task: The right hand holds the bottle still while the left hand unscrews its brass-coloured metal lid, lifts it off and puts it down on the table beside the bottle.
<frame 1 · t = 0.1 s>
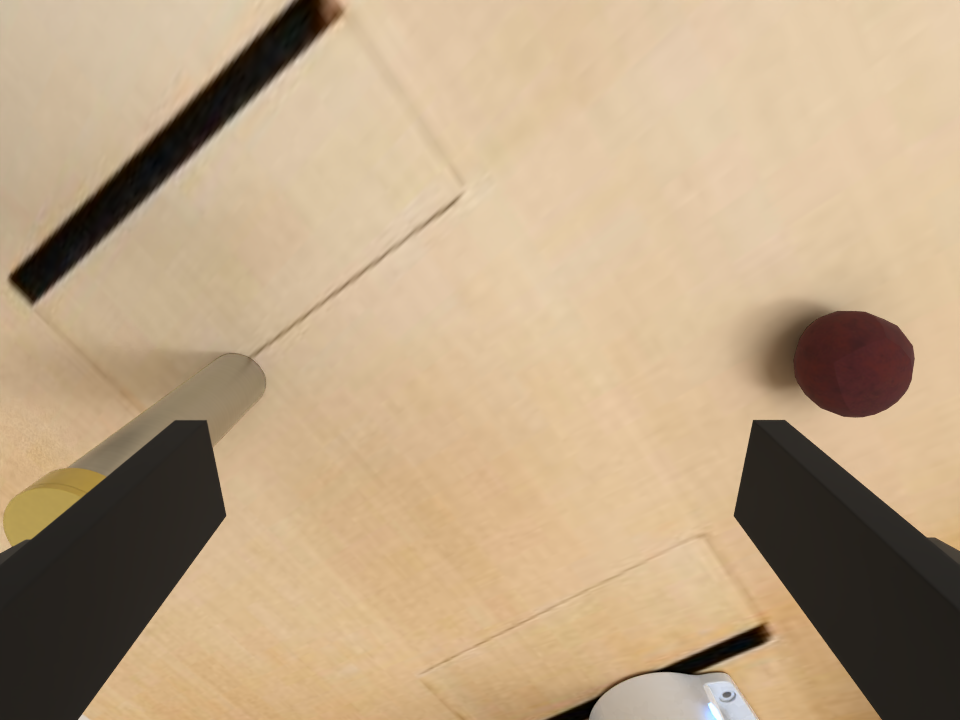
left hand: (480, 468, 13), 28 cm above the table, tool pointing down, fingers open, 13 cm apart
bottle: (237, 379, 42), on the table
lid: (66, 530, 25), point 19 cm above the table, screwed on, not yet turned
dark red plum: (820, 345, 41), on the table
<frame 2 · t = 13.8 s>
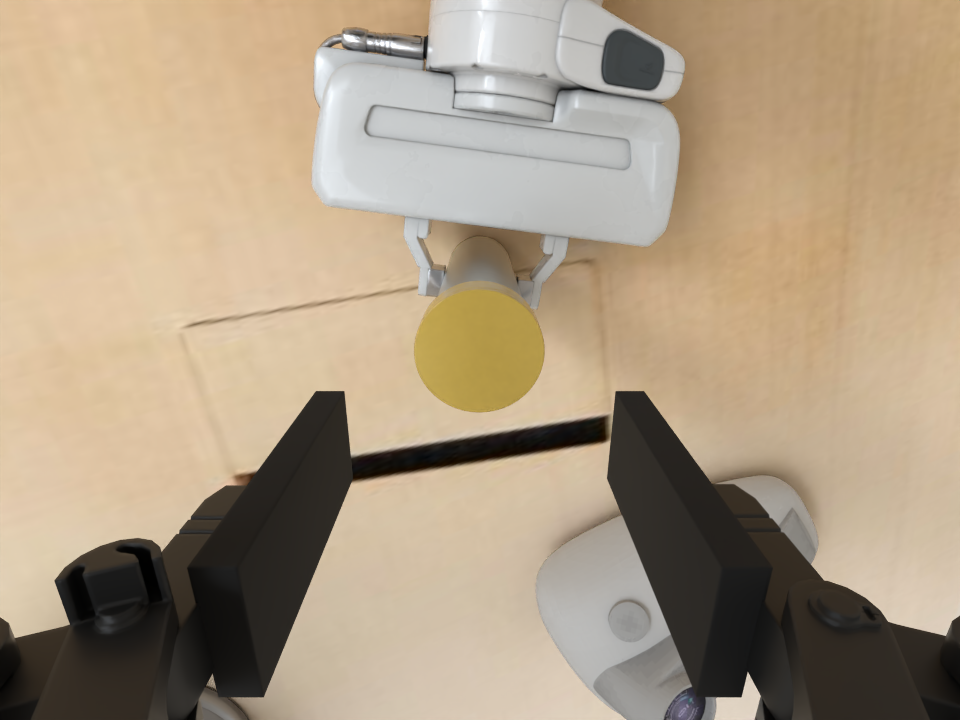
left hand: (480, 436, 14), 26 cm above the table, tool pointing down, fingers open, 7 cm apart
right hand: (478, 300, 33), fingers closed on bottle, 4 cm apart
bottle: (479, 267, 38), on the table, touching right hand
projector: (667, 549, 47), on the table
lid: (479, 350, 21), point 19 cm above the table, screwed on, not yet turned
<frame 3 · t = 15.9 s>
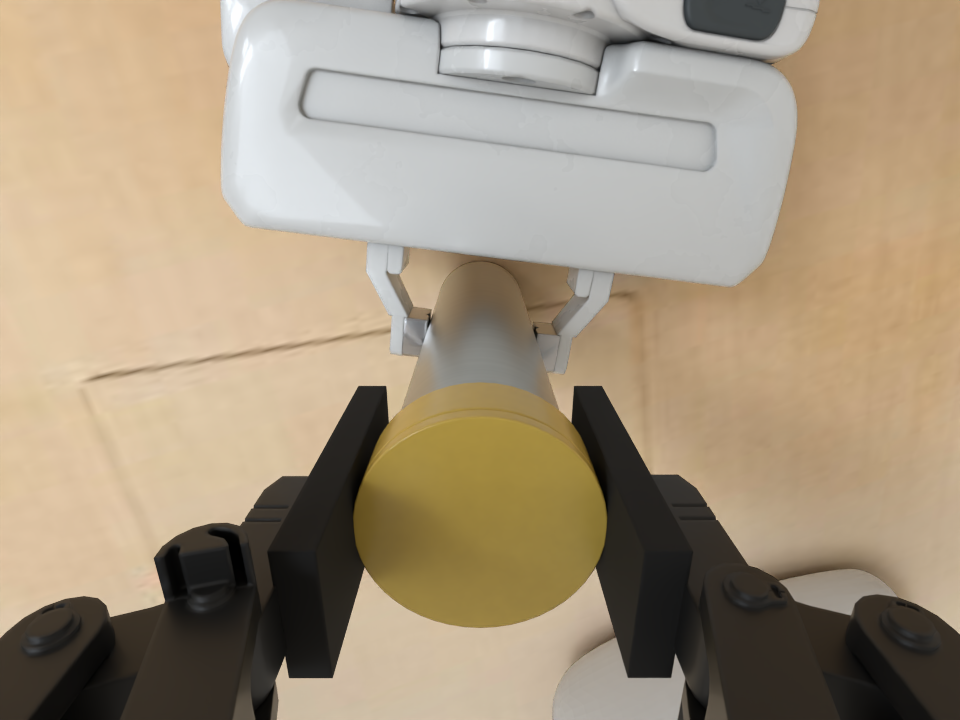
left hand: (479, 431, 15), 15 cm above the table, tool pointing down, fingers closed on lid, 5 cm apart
right hand: (478, 360, 22), fingers closed on bottle, 4 cm apart
bottle: (480, 302, 28), on the table, touching right hand
projector: (717, 652, 37), on the table
lid: (480, 520, 11), point 19 cm above the table, screwed on, not yet turned, touching left hand
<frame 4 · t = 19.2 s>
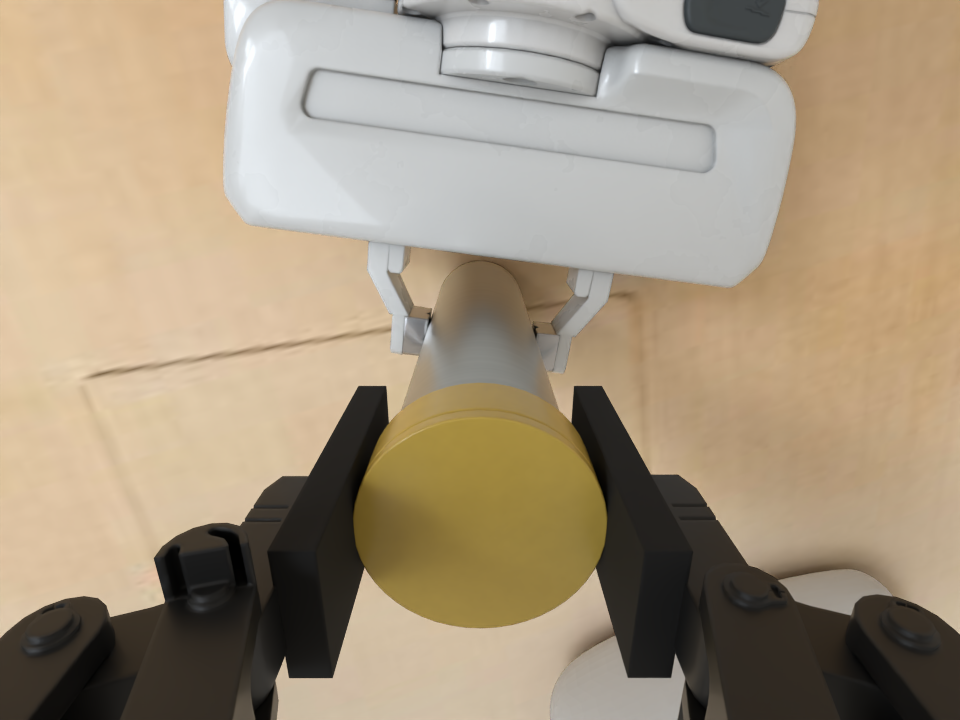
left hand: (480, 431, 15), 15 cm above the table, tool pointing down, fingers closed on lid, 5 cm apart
right hand: (478, 359, 23), fingers closed on bottle, 4 cm apart
bottle: (480, 302, 29), on the table, touching right hand
projector: (714, 652, 37), on the table
lid: (480, 521, 11), point 19 cm above the table, turned 106° so far, risen 0.1 cm, still on its thread, touching left hand
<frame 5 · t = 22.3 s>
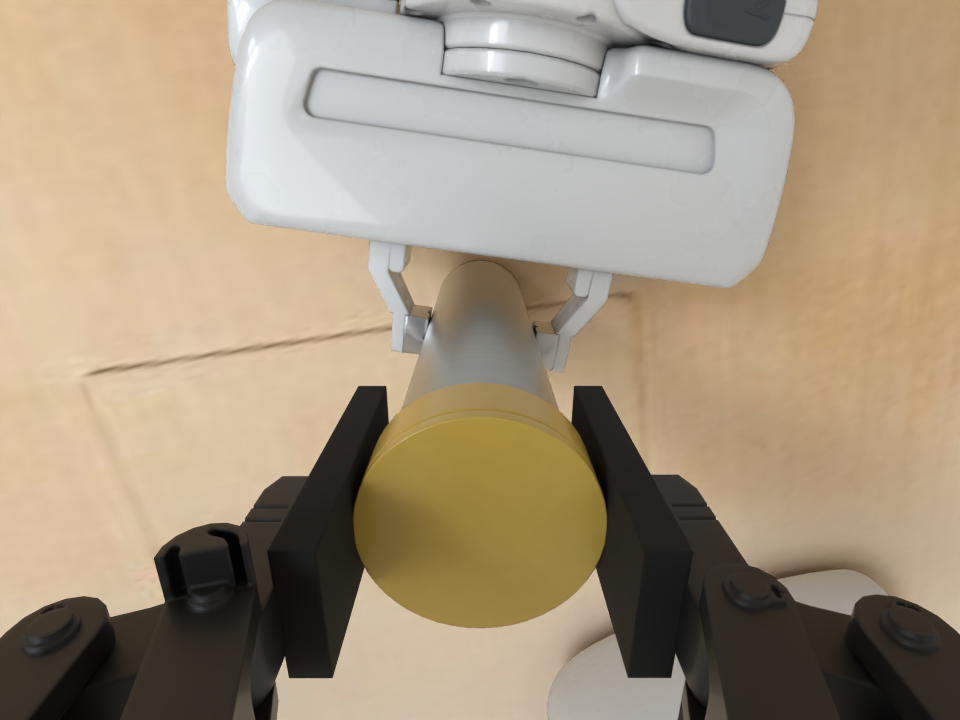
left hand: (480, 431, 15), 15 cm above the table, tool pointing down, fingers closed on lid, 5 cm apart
right hand: (478, 358, 23), fingers closed on bottle, 4 cm apart
bottle: (480, 301, 29), on the table, touching right hand
projector: (711, 651, 38), on the table
lid: (480, 521, 11), point 19 cm above the table, turned 212° so far, risen 0.3 cm, still on its thread, touching left hand
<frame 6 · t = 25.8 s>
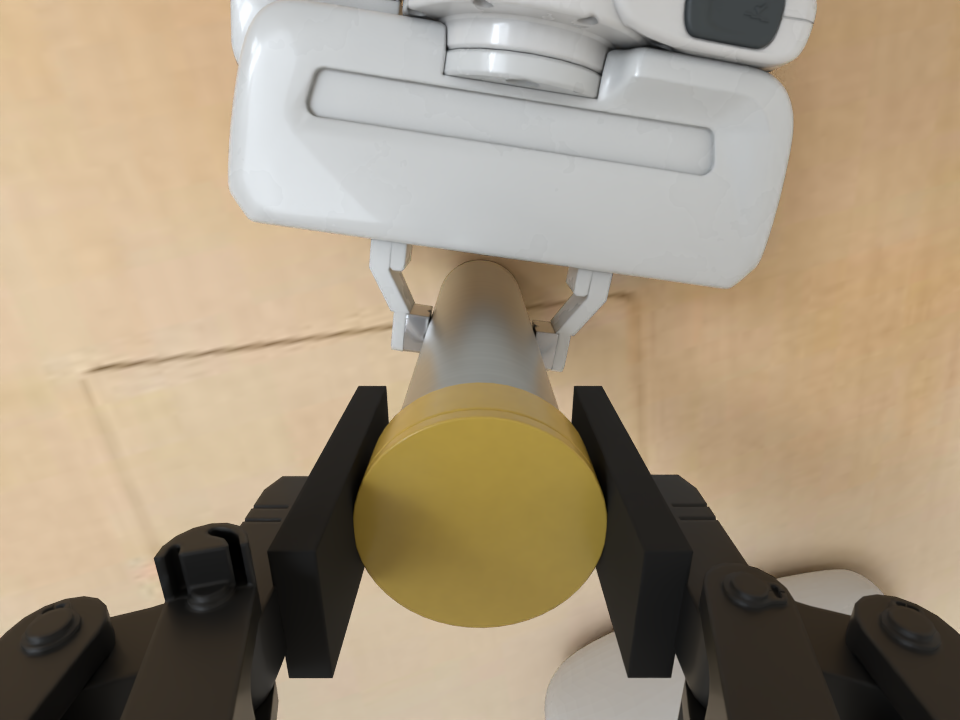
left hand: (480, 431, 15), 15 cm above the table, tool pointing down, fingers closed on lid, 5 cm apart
right hand: (478, 357, 23), fingers closed on bottle, 4 cm apart
bottle: (480, 301, 29), on the table, touching right hand
projector: (708, 651, 38), on the table
lid: (480, 520, 11), point 19 cm above the table, turned 318° so far, risen 0.4 cm, still on its thread, touching left hand
when the left hand's fingers open (0 cm above the table, at t = 32.1 s): lid drops 3 cm, point 1 cm above the table.
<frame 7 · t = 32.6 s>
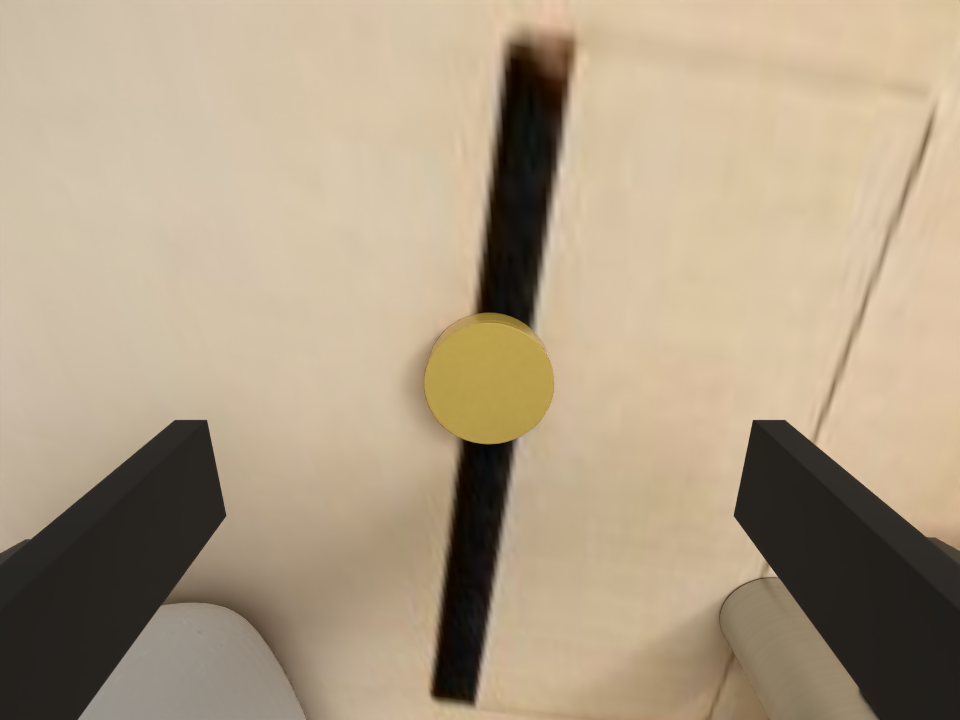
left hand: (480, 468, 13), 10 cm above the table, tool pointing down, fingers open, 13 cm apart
bottle: (764, 613, 26), on the table, touching right hand
lid: (488, 382, 21), point 1 cm above the table, off its thread
when the right hand's fingers open (7 cm above the table, at t = 32.7 s): bottle stays where it is, on the table.
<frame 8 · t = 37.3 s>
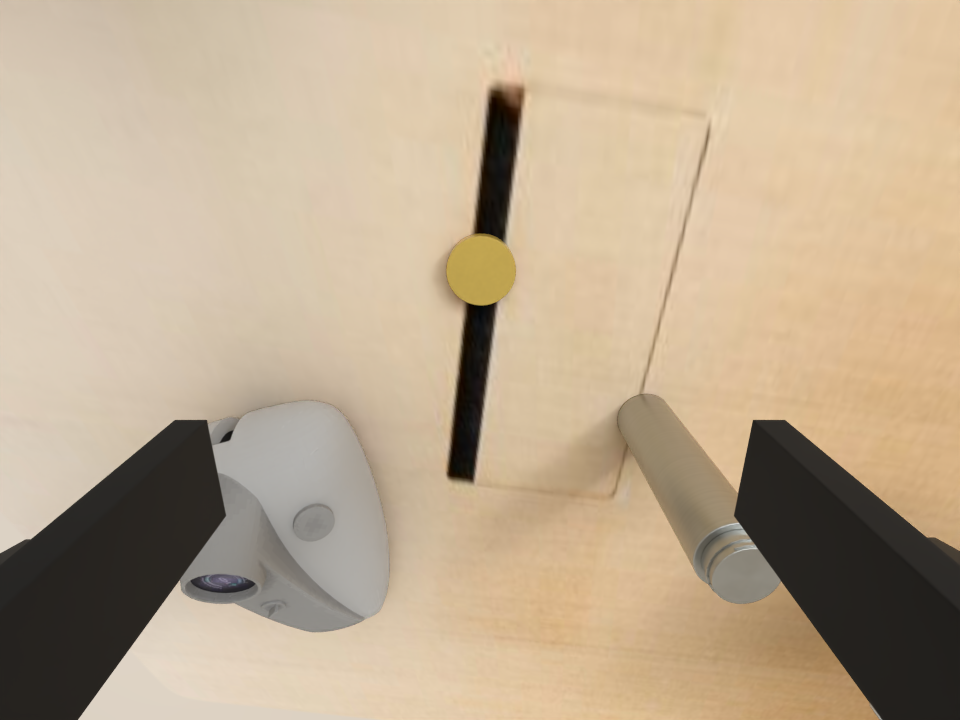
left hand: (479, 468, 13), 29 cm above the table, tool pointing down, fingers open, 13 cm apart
bottle: (643, 417, 45), on the table
projector: (312, 504, 48), on the table
lid: (481, 270, 39), point 1 cm above the table, off its thread
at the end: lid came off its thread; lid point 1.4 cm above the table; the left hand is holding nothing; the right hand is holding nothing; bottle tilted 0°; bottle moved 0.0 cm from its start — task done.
